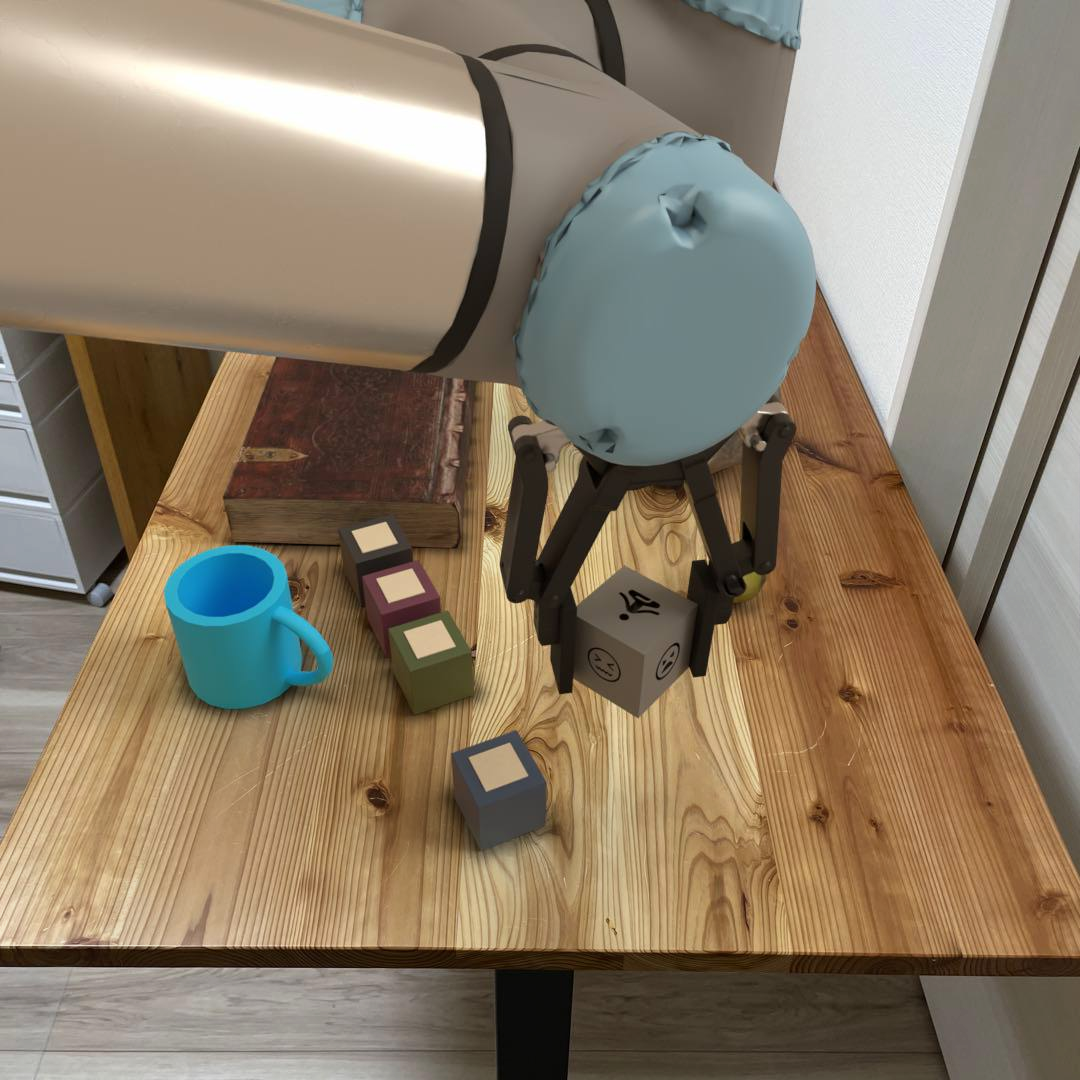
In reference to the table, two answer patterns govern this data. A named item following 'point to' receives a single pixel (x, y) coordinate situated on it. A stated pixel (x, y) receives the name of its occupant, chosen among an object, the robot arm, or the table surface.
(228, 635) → the mug
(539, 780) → the block
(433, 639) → the block
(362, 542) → the block
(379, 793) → the table surface
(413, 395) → the hardback book
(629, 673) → the dice cube
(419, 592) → the block
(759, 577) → the lime
